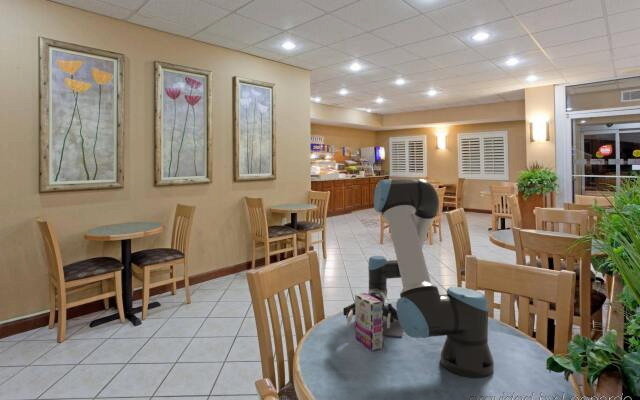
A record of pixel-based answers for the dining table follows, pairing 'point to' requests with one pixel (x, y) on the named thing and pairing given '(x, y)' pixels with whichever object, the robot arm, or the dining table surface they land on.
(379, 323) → the candy bar box
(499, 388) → the dining table surface
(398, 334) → the charcoal mat
